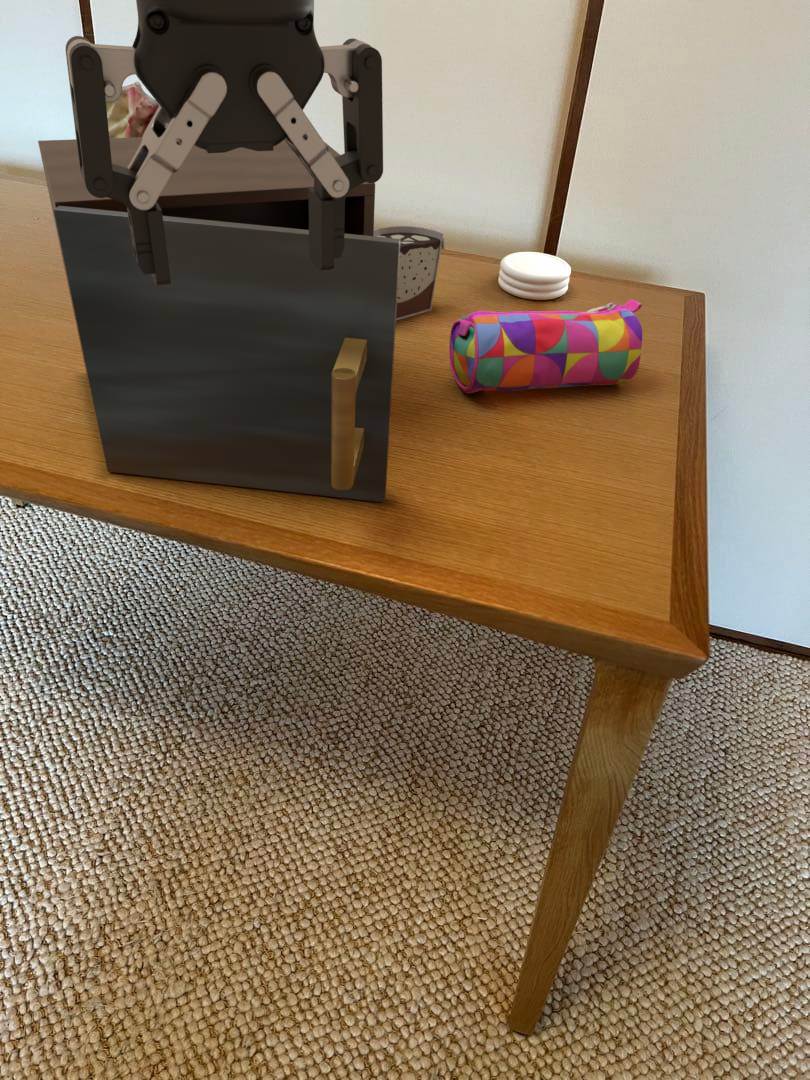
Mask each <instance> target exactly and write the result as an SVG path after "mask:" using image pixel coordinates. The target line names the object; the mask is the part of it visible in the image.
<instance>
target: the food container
mask: <svg viewBox="0 0 810 1080" xmlns="http://www.w3.org/2000/svg"><path fill="white" fill-rule="evenodd" d="M373 236H375V237H385V238H395V239H400V258H399V275H398V293H397V310H396V322H397V321H400V320H403V319H407V318H411V317H414V316H417V315H420V314H424V313H427V312H432V307H433V301H434V295H435V288H436V283H437V282H436V281H437V276H438V270H439V263H440V257H441V251H442V250H445V249H446V247H445V245H446V244H445V238H444V233H442V232H441V231H437V230H435V229H430V228H426V227H420V226H413V225H412V226H411V225H392V226H383V227H379V228H374V235H373Z"/></svg>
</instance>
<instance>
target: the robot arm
mask: <svg viewBox="0 0 810 1080" xmlns="http://www.w3.org/2000/svg"><path fill="white" fill-rule="evenodd" d="M135 1H136V10H137V30H136V35H135V38H134V41H133V44H132V46H127V45H115V44H101V43H92V42H91V41H90V40H89V39H88V38H86V37H84V36H81V35H75V36H72V37H70V38H69V39H68V40H67V42H66V44H65V57H66V65H67V75H68V83H69V91H70V98H71V107H72V116H73V124H74V133H75V139H76V141H77V150H78V158H79V166H80V172H81V174H82V177H83V180H84V182H85V185H86V188H87V190H88V191H89V193H90V194H92V195H93V196H95V197H97V198H105V197H108V198H111V199H115V200H118V201H120V202H122V203H123V204H125V205H126V206H127V211H128V218H129V225H130V231H131V238H132V244H133V251H134V256H135V258H136V260H137V263H138V265H139V267H140V268H141V270H142V272H143V274H144V275H145V274H151V275H152V277H153V280H154V282H155V284H156V285H166V284H171V280H170V271H169V263H168V255H167V247H166V239H165V231H164V223H163V215H162V210H161V208H160V206H159V205H158V203H157V200H158V198H159V196H160V195H161V193H162V191H163V190H164V188H165V186H166V185H167V183H168V181H169V180H170V178H171V176H172V175H173V174H174V173H175V172H177V171H178V170H179V169H180V168H181V166H182V164H183V163H184V161H185V159H186V158H187V156H188V154H189V153H190V151H191V149H192V148H193V146H194V145H195V146H197V147H199V148H201V149H205V150H206V151H207V153H225V152H228V151H231V150H234V149H236V148H240V147H243V148H247V149H251V150H255V151H273V146H276V145H278V144H279V143H281V142H282V141H283V140H285V142H286V143H287V144H288V145H289V147H290V148H291V149H292V150H293V152H294V153H295V154H296V155H297V157H298V158H299V159H300V161H301V162H302V164H303V165H304V166H305V168H306V169H307V170H308V172H309V173H310V175H311V176H312V177H313V179H314V188H308V195H309V253H310V258H311V261H312V262H313V263H314V265H315V266H316V267H317V268H318V269H319V270H320V271H321V270H332V269H333V268H334V258H341V255H342V253H343V250H344V234H345V230H344V228H345V199H346V196H347V194H348V192H349V191H350V190H351V189H352V188H354V187H356V186H358V185H360V184H362V183H364V182H368V183H375V184H376V183H377V182H378V181H379V180H380V179H381V178H382V177H383V174H384V125H383V124H384V121H383V120H384V119H383V118H384V117H383V115H384V114H383V113H384V111H383V58H382V55H381V53H380V51H379V50H378V49H377V48H375V47H373V46H371V45H370V44H368V43H367V42H364V41H362V40H359V39H357V38H353V37H352V38H348V39H346V40H345V41H344V42H343V43H342V44H338V45H325V46H323V45H322V46H320V45H319V43H318V40H317V36H316V32H315V26H314V25H315V23H314V21H315V20H314V19H315V0H135ZM324 74H327V75H328V76H329V80H330V85H331V87H332V89H333V91H334V92H336V93H337V94H338V95H340V96H341V102H342V124H343V146H344V147H343V149H344V153H342V154H340V156H337V157H335V158H334V157H333V156H332V155H331V153H330V152H329V150H328V147H327V145H326V144H327V143H326V142H325V140H324V139H323V138H322V137H321V135H320V133H319V132H318V131H317V129H316V128H315V127H314V124H312V122H311V120H310V119H309V117H308V116H307V115H306V113H305V111H304V109H305V107H306V106H307V104H308V102H309V101H310V99H311V98H312V96H313V95H314V93H315V91H316V89H317V87H318V86H319V85H320V82H321V81H322V79H323V77H324ZM133 75H134V76H135V75H136V77H137V79H138V80H139V82H140V83H141V84H142V86H144V87H145V89H146V90H147V91H148V92H149V94H150V96H151V97H152V98H153V99H154V100H156V101H157V102H158V104H159V105H160V106H159V107H158V109H157V111H156V113H155V114H154V116H153V118H152V120H151V121H150V123H149V125H148V127H147V128H146V130H145V132H144V134H143V137H142V142H141V144H140V146H139V148H138V150H137V151H136V153H135V155H134V157H133V158H132V160H131V162H130V164H129V165H128V167H127V168H125V167H122V166H119V165H116V164H112V160H111V150H110V140H109V129H108V119H107V109H106V103H112V102H115V101H117V100H118V99H119V98H120V96H121V94H122V87H123V86H124V85H123V84H124V82H125V81H126V79H127V78H128V77H130V76H133ZM166 123H168V125H167V126H165V124H166ZM177 139H180V141H179V142H176V141H177ZM325 143H326V144H325Z"/></svg>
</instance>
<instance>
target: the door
mask: <svg viewBox="0 0 810 1080" xmlns="http://www.w3.org/2000/svg"><path fill="white" fill-rule="evenodd" d="M54 215H55V220H56V225H57V229H58V234H59V239H60V244H61V249H62V254H63V258H64V263H65V268H66V273H67V278H68V283H69V287H70V292H71V297H72V302H73V307H74V311H75V316H76V321H77V326H78V331H79V336H80V340H81V345H82V350H83V355H84V360H85V365H86V369H87V374H88V379H89V383H88V385H89V384H90V387H89V390H90V389H91V391H90V395H91V394H92V395H91V398H93V399H92V403H94V404H93V407H94V412H95V413H94V414H95V417H96V422H97V423H96V424H97V427H98V433H99V436H100V442H101V446H102V452H103V456H104V461H105V467H106V471H107V472H109V473H116V474H125V475H135V476H143V477H151V478H153V477H154V478H160V479H169V480H170V479H171V480H180V481H188V482H198V483H206V484H214V485H223V486H233V487H243V488H251V489H259V490H267V491H268V490H269V491H278V492H286V493H295V494H304V495H313V496H323V497H332V498H340V499H350V500H358V501H367V502H374V503H375V502H376V503H385V501H386V497H387V485H388V484H387V482H388V469H389V468H388V467H389V451H390V448H389V447H390V433H391V431H390V430H391V415H392V398H393V397H392V396H393V379H394V378H393V377H394V363H395V362H394V360H395V345H396V343H395V342H396V327H397V326H396V325H397V321H396V310H397V293H398V275H399V258H400V239H395V238H385V237H375V236H365V235H354V234H344V250H343V253H342V255H341V258H334V268H333V269H332V270H321V271H320V270H319V269H318V268H317V267H316V266H315V265H314V263H313V262H312V261H311V258H310V253H309V230H303V229H293V228H283V227H273V226H262V225H252V224H242V223H232V222H221V221H211V220H201V219H191V218H180V217H170V216H163V223H164V231H165V239H166V247H167V255H168V263H169V271H170V280H171V284H166V285H156V284H155V282H154V280H153V277H152V275H151V274H145V275H144V274H143V272H142V270H141V268H140V267H139V265H138V263H137V260H136V258H135V256H134V251H133V244H132V238H131V231H130V225H129V218H128V212H119V211H109V210H99V209H88V208H78V207H68V206H58V207H56V208H55V209H54ZM56 225H55V226H56ZM61 249H60V250H61ZM62 254H61V255H62ZM66 273H65V274H66ZM67 278H66V279H67ZM68 283H67V284H68ZM71 297H70V298H71ZM72 302H71V303H72ZM73 307H72V308H73ZM77 326H76V327H77ZM78 331H77V332H78ZM79 336H78V337H79ZM82 350H81V351H82ZM83 355H82V356H83ZM84 360H83V361H84ZM85 365H84V366H85ZM87 374H86V375H87ZM88 379H87V380H88Z"/></svg>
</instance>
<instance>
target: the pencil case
mask: <svg viewBox="0 0 810 1080" xmlns="http://www.w3.org/2000/svg"><path fill="white" fill-rule="evenodd" d="M642 306H643V303H641V302H639V301H637V300H635V299H632V298H630V299H629V300H628V301H627V302H626V303H624V304H623V305H620V304H615V302H614V301H613V302H609V303H607V304H606V305H602V306H598V307H594V308H590V309H588V310H586V311H574V310H573V311H572V310H549V311H548V310H545V311H543V310H541V311H539V310H538V311H537V310H535V311H534V310H533V311H532V310H529V311H528V310H527V311H526V310H524V311H523V310H521V311H520V310H518V311H517V310H516V311H500V312H499V311H498V312H497V311H488V310H475V311H472V312H471V313H468V314H466V315H465V316H463V317H459V318H458V319H456V320H455V321H454V322H453V323H452V325H451V329H450V333H449V346H448V347H449V349H448V350H449V351H448V352H449V364H450V369H451V372H452V375H453V378H454V380H455V383H457V385H458V386H459V388H460V389H461V390H462V391H463V392H464V393H465V394H474V393H477V392H479V391H481V390H483V391H486V392H492V391H493V392H494V391H497V392H515V391H526V390H532V389H538V390H539V389H541V390H542V389H543V390H545V389H555V388H556V389H558V388H559V389H560V388H568V387H569V388H570V387H584V386H608V385H617V384H626V383H628V382H630V381H631V380H632V379H633V378H634V377H635V376H636V374H637V372H638V369H639V366H640V362H641V355H642V346H643V327H642V323H641V322H640V319H638V317H637V316H636V315H635V314H634V313H636V312H637V311H639V310H641V308H642Z"/></svg>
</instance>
